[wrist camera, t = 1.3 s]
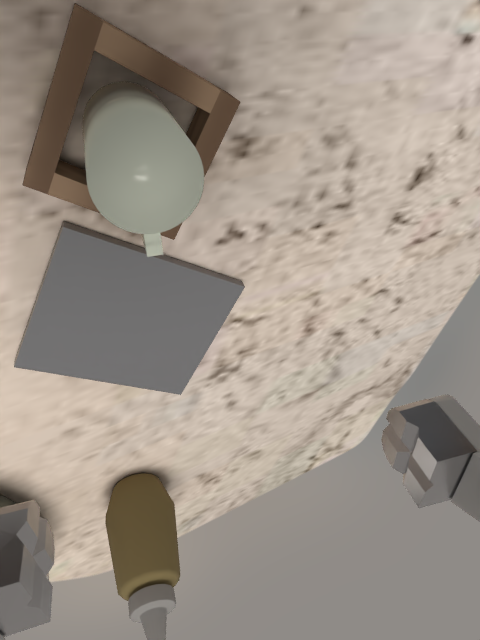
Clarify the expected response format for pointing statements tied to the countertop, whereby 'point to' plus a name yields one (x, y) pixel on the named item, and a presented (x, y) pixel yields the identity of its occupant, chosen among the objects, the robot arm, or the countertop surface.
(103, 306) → the charcoal tile
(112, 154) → the pale green mug
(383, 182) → the countertop surface
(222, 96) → the walnut holder
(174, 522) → the squeeze bottle
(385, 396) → the countertop surface
